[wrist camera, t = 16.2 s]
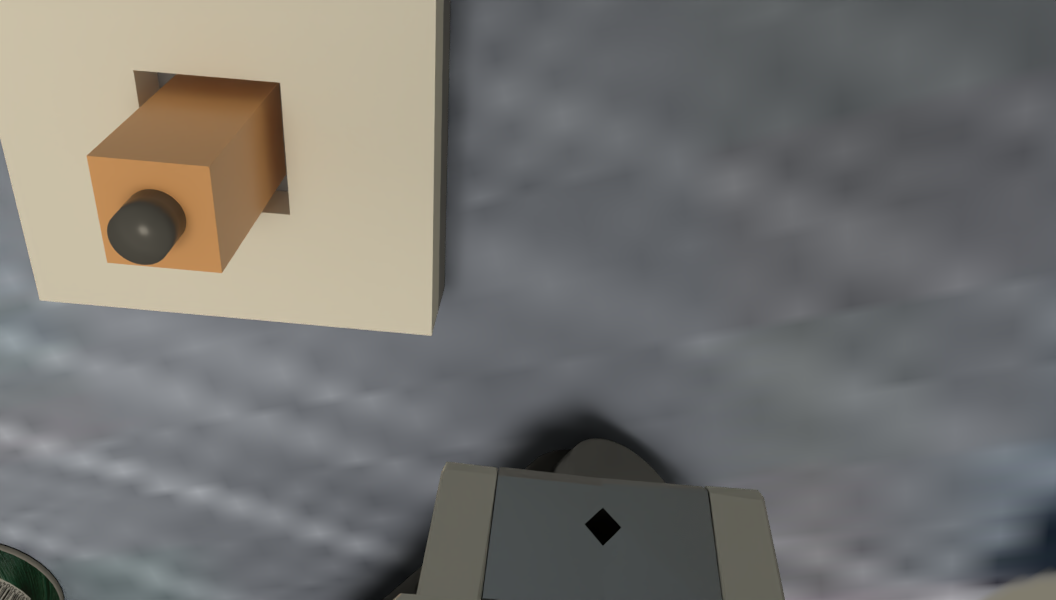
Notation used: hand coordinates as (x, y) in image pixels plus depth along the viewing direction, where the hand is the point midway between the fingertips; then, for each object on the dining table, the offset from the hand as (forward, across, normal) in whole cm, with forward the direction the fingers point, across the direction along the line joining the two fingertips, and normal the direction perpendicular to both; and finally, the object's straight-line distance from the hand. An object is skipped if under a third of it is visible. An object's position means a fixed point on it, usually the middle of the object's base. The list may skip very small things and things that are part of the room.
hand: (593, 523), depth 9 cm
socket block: (+31, +14, +9) cm, 35 cm away
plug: (+29, +14, +9) cm, 33 cm away
